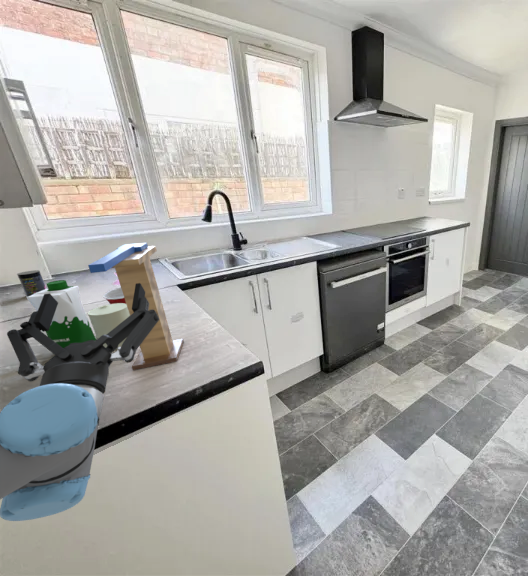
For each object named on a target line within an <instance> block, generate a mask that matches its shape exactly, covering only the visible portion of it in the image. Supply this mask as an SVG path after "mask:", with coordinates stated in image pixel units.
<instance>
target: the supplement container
mask: <svg viewBox="0 0 528 576" xmlns="http://www.w3.org/2000/svg"><path fill="white" fill-rule="evenodd" d="M16 275H17V278H18V280H19V282H20V285H21V287H22V289H23V291H24V293H25V296H26V297H28V296H31V295H33V294H34V293H37V292H40V291H42V290H45V289H48V287H47V285H46V284H45V281H44V279H43V277H42V273H41V271H40V270H39V269H36V270H26V271H22V272H19V273H16Z"/></svg>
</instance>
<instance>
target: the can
mask: <svg viewBox="0 0 528 576" xmlns="http://www.w3.org/2000/svg"><path fill="white" fill-rule="evenodd" d="M129 316H130V314H129V311H128V308H127V304H125V303H116V304H110V303H109V304H104V305H101V306H97V307H95V308H94V307H93V308H92V309H90V310H89V311H88V312H87V317H88V318H89V322H90V323H91V326H92V330H93V332H94V335H95V338H96V340H97V339H98V338H99V337H101V336H102V335H106V334H108V333H109V332H110V331H112V330H113V329H114V328H115V327H117V326H118V325H119V324H120V323H122V322H123V321H124V320H125V319H127V318H128V317H129ZM124 341H125V339H124V340H123V341H122V342H121V343H120V344H119V345H118V347H120V346H122V344H123V342H124ZM103 346H104V347H105V348H106V347H107V344H106V343H105V344H103ZM117 350H118V349H116V350H115V351H117Z"/></svg>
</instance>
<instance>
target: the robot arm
mask: <svg viewBox="0 0 528 576" xmlns="http://www.w3.org/2000/svg"><path fill="white" fill-rule="evenodd" d="M57 305H58V302H57V301H56V300H55V299H54V298H53V296H52V295H51V294H50V293H49V294H44V296H43V299H42V301H41V304H40V306H39V309H38V311H36V310H35V311H33V312H32V313H31V314H30V317H29V319H28V320H27V321H23V322H22V323H20V325H19V327H20V329H16V328H14V329H10V330H9V331H7V333H6V335H7V338H8V340H9V342H10V344H11V347H12V349H13V351H14V353H15V355H16V357H17V360H18V362H19V365H18V371H17V374H18V375H20V376H21V377H22V378H24V379H25V380H27V381H28V382H34V381H36V380H38V378H39V377H40V376H41V379H40V382H39V385H38V386H36V387H33V388H30V389H28V390H25V391H24V392H22V393H20V394H18V396H15V398H14V399H12V400H11V401H9V403H7V404H6V405H5V406H4V407H3V408H2V409H1V411H0V500H1V504H0V518H1V519H2V520H5V521H9V522H24V521H32V520H37V519H41V518H46V517H50V516H54V515H56V514H59V513H62V512H65V511H67V510H69V509H71V508H73V507H76V505H78V504H79V503H81V501H82V500H83V499H84V497H85V495H86V492H87V487H88V483H89V481H90V479H91V469H92V464H93V458H94V454H95V453H94V452H95V448H96V441H97V435H98V427H99V424H100V420H101V414H102V409H103V405H104V398H105V396H104V394H105V392H106V389H107V383H108V378H109V371H110V366H111V364H112V363H113V362H118V361H124V362H125V363H127V364H128V363H132V362H133V361H134V360H135V359H134V358H135V356H136V353H137V351H138V349H139V348H140V345H141V343H142V342H143V341H144V339H145V338H146V337H147V335H148V334H149V333H150V331H151V330H152V329H153V327H154V326H155V325H156V323H157V322H158V321H159V317H158V315H157V313H156V312H155V310H153V309H152V310H149V302H148V300H147V299H146V297H145V290H144V289H143V287H142V285H141V283H136V285H135V291H134V297H133V304H132V310H133V312H134V313H133V314H131V315H130V316H129V317H128V318H127V319H125V320H124V321H123V322H122V323H120V324H119V325H118V326H117V327H115V328H114V329H113V330H112V331H110V332H109V333H108V334H106V335H102V336H101V337H99V338H98V339H97V338H96V340H95V341H94V340H89V341H85V342H82V343H71V344H70V345H69V346H66V347H65V348H62V347H61V346H60V345H58V344H57V343H55V342H54V341H53V340H52V339H50V338H49V337H48V336H47V334H46V333H44V332H46V331H49V328H50V325H51V322H52V320H53V317H54V314H55V311H56V308H57ZM148 310H149V311H148ZM31 338H33V339H34V340H35V341H36V342H38V343H39V344H40V345H41V346H42V347H44V348H45V349H47V350H48V351H49V352H50V353H52V355H54V356H53V357H51V358H50V359H48V361H46V362H45V364H43V365H42V364H41V363H40V362H39V360H38V359H37V357H36V355H35V353H34V351H33V349H32V347H31V345H30V342H29V341H28V339H31ZM124 339H125V341H124V342H123V344H122V346H120V347H118V345H119V344H120V343H121V342H122V341H123V340H124ZM105 343H106V344H107V347H106V348H105V347H104V346H103V344H105ZM116 349H117V350H116Z"/></svg>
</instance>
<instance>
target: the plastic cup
mask: <svg viewBox="0 0 528 576" xmlns="http://www.w3.org/2000/svg"><path fill="white" fill-rule="evenodd" d="M102 297H103V299H105V300H106V301H107V302H108V303H109V304H116V303H125V304H126V301H125V298H124V295H123V292H122V289H121V286H119V287H117V288H114V289H111V290H109V291H106V292H105V293H104V294H103V295H102Z"/></svg>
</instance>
